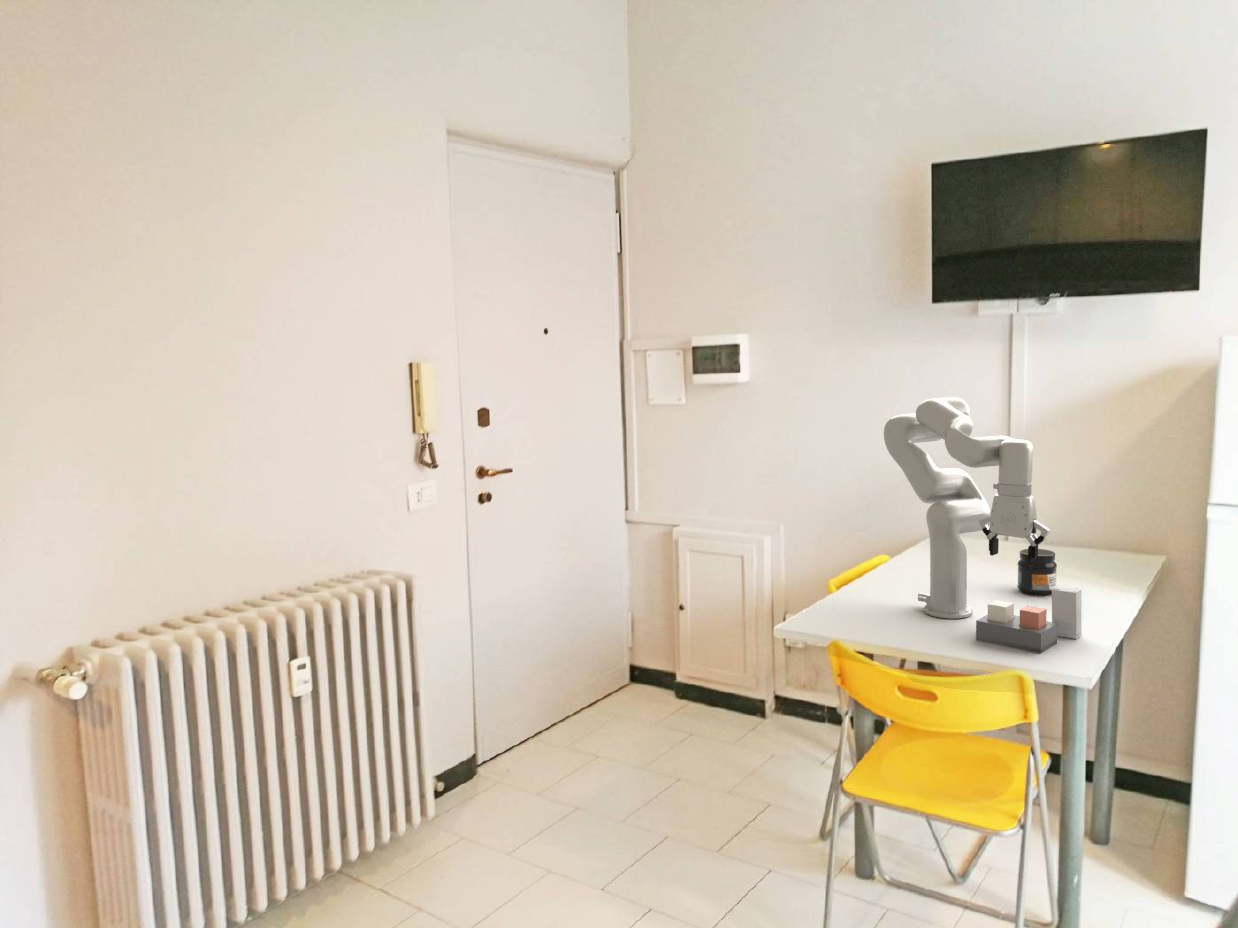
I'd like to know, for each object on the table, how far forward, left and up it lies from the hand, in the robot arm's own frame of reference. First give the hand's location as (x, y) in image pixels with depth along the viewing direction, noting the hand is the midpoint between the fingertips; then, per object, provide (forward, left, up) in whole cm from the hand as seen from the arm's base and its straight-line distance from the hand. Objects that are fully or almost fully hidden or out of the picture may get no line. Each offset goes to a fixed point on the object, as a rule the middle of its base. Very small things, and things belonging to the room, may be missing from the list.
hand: (1012, 557), depth 228 cm
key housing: (+2, -1, -21) cm, 21 cm away
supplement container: (-12, +46, -21) cm, 52 cm away
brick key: (+6, -1, -16) cm, 17 cm away
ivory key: (-2, -1, -16) cm, 17 cm away
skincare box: (+9, +11, -21) cm, 25 cm away
